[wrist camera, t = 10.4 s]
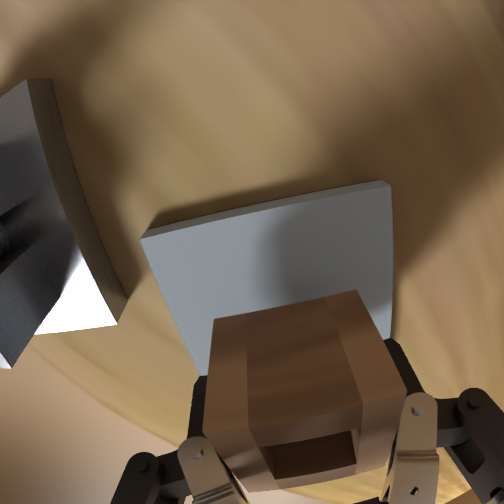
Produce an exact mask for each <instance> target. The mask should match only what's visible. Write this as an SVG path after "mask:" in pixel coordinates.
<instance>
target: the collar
mask: <svg viewBox="0 0 504 504" xmlns="http://www.w3.org/2000/svg"><path fill="white" fill-rule="evenodd" d="M406 395H407V389H406V387H405V385H404V383H403V380H402V378H401V376H400V374H399V372H398V370H397V368H396V366H395V364H394V362H393V359H392V357H391V355H390V353H389V351H388V349H387V347H386V345H385V343H384V341H383V339H382V337H381V335H380V333H379V331H378V329H377V327H376V326H375V324H374V322H373V320H372V318H371V316H370V314H369V312H368V310H367V308H366V306H365V305H364V303H363V301H362V299H361V297H360V295H359V293H358V292H357V290H352V291H348V292H343V293H339V294H335V295H330V296H326V297H321V298H317V299H312V300H308V301H303V302H299V303H294V304H289V305H284V306H279V307H274V308H269V309H264V310H259V311H254V312H249V313H244V314H238V315H233V316H227V317H222V318H216V319H214V321H213V329H212V338H211V348H210V357H209V367H208V376H207V386H206V397H205V407H204V418H203V430H202V432H203V433H204V435H205V436H206V438H207V439H208V440H209V442H210V443H211V445H212V446H213V447H214V449H215V450H216V451H217V453H218V454H219V455H220V457H221V458H222V459H223V461H224V462H225V463H226V465H227V466H228V467H229V469H230V470H231V471H232V472H233V474H234V475H235V476H236V477H237V479H238V480H239V481H240V482H241V484H242V485H243V486H244V487H245V488H246V490H247V491H248V492H260V491H269V490H278V489H285V488H292V487H299V486H305V485H310V484H316V483H321V482H326V481H330V480H335V479H339V478H344V477H348V476H352V475H356V474H359V473H363V472H367V471H370V470H374V469H377V468H380V467H384V466H385V465H386V462H387V459H388V457H389V454H390V451H391V448H392V444H393V441H394V438H395V435H396V432H397V428H398V425H399V421H400V418H401V414H402V410H403V407H404V403H405V399H406Z"/></svg>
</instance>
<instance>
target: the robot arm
mask: <svg viewBox="0 0 504 504" xmlns="http://www.w3.org/2000/svg"><path fill="white" fill-rule="evenodd" d="M383 341H384V343H385V345H386V347H387V349H388V351H389V353H390V355H391V357H392V359H393V362H394V364H395V366H396V368H397V370H398V372H399V374H400V376H401V378H402V380H403V383H404V385H405V387H406V389H407V395H406V399H405V403H404V407H403V410H402V414H401V418H400V421H399V425H398V428H397V432H396V435H395V438H394V441H393V444H392V448H391V451H390V457H389V463H388V469H387V474H386V479H385V483H384V487H383V490H382V494H381V499H380V501H379V497H376V498H372V499H369V500H365V501H362V502H358V503H354V504H435V499H436V492H437V483H438V473H439V455H438V454H437V453H436V448H437V447H444V449H445V450H446V451H447V453H448V454H449V456H450V457H451V459H452V460H453V461H454V463H455V464H456V466H457V467H458V469H459V470H460V472H461V473H462V474H463V476H464V477H465V479H466V480H467V482H468V483H469V485H470V486H471V488H472V489H473V491H474V492H475V494H476V495H477V497H478V498H479V500H480V501H481V503H482V504H504V412H503V411H502V410H501V409H500V408H499V407H498V406H497V404H496V403H495V402H494V401H493V400H492V399H491V398H490V397H489V395H488V394H487V393H486V392H485V391H483V390H481V389H479V388H469V389H466V390H465V391H463V392H462V393H461V394H460V396H459V398H450V399H436V398H433V397H432V396H431V395H429V394H427V393H426V392H425V391H424V390H423V388H422V386H421V384H420V382H419V380H418V378H417V376H416V374H415V372H414V370H413V369H412V367H411V365H410V363H409V361H408V359H407V357H406V356H405V353H404V351H403V350H402V348H401V346H400V344H398V343H397V342H396V341H395V340H393V339H392V338H388V339H384V340H383ZM207 376H208V375H204V376H200V377H199V378H198V380H197V381H196V383H195V385H194V389H193V398H192V406H191V412H190V420H189V428H188V435H187V439H186V440H185V441H184V442H182V444H181V445H180V446H179V448H178V449H177V450H176V451H174V452H171V453H168V454H165V455H161V456H158V457H155V456H154V455H153V454H151V453H148V452H140V453H137V454H135V455H134V456H132V457H131V458H130V459H129V461H128V463H127V465H126V467H125V470H124V472H123V474H122V477H121V479H120V482H119V484H118V486H117V489H116V491H115V494H114V496H113V498H112V501H111V503H110V504H184V501H185V498H186V496H189V495H192V496H193V501H192V504H250V503H249V501H248V499H247V498H246V496H245V494H244V492H243V490H242V488H241V486H240V485H239V483H238V481H237V479H236V477H235V475H234V474H233V472H232V471H231V470H230V469H229V467H228V466H227V465H226V463H225V462H224V461H223V459H222V458H221V457H220V455H219V454H218V453H217V451H216V450H215V449H214V447H213V446H212V445H211V443H210V442H209V440H208V439H207V438H206V436H205V435H204V433H203V432H202V430H203V418H204V407H205V397H206V386H207Z"/></svg>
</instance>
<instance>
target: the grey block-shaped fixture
mask: <svg viewBox="0 0 504 504" xmlns="http://www.w3.org/2000/svg"><path fill="white" fill-rule="evenodd" d="M127 302H128V299H127V297H126V295H125V293H124V291H123V289H122V287H121V285H120V283H119V280H118V278H117V276H116V274H115V272H114V269H113V267H112V265H111V263H110V260H109V258H108V256H107V253H106V251H105V249H104V246H103V244H102V242H101V239H100V237H99V234H98V232H97V229H96V227H95V224H94V222H93V219H92V216H91V214H90V211H89V208H88V206H87V203H86V200H85V198H84V195H83V192H82V189H81V186H80V183H79V180H78V177H77V174H76V171H75V168H74V165H73V162H72V159H71V155H70V152H69V149H68V145H67V142H66V138H65V135H64V131H63V127H62V124H61V120H60V116H59V112H58V108H57V104H56V99H55V95H54V90H53V86H52V81H51V79H25V80H24V81H22V82H21V83H20V84H18V85H17V86H15V87H14V88H12V89H11V90H10V91H8V92H7V93H5V94H4V95H3V96H1V97H0V368H12V367H13V366H14V364H15V363H16V361H17V359H18V357H19V356H20V355H21V353H22V352H23V350H24V348H25V347H26V346H27V344H28V343H29V341H30V340H31V338H32V337H33V335H34V334H43V333H52V332H61V331H69V330H77V329H85V328H93V327H100V326H107V325H115V324H117V322H118V320H119V318H120V316H121V314H122V312H123V310H124V308H125V306H126V304H127Z"/></svg>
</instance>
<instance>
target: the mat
mask: <svg viewBox="0 0 504 504" xmlns="http://www.w3.org/2000/svg"><path fill="white" fill-rule="evenodd" d="M140 242H141V244H142V247H143V249H144V252H145V254H146V257H147V259H148V262H149V264H150V267H151V269H152V272H153V274H154V277H155V279H156V281H157V284H158V286H159V288H160V291H161V293H162V295H163V298H164V300H165V302H166V305H167V307H168V309H169V311H170V314H171V316H172V318H173V320H174V322H175V325H176V327H177V329H178V331H179V333H180V335H181V337H182V339H183V342H184V344H185V346H186V348H187V350H188V352H189V354H190V356H191V358H192V360H193V362H194V364H195V366H196V368H197V370H198V372H199V374H200V376H204V375H208V367H209V357H210V348H211V338H212V329H213V321H214V319H216V318H222V317H227V316H233V315H238V314H244V313H249V312H254V311H259V310H264V309H269V308H274V307H279V306H284V305H289V304H294V303H299V302H303V301H308V300H312V299H317V298H321V297H326V296H330V295H335V294H339V293H343V292H348V291H352V290H357V292H358V293H359V295H360V297H361V299H362V301H363V303H364V305H365V306H366V308H367V310H368V312H369V314H370V316H371V318H372V320H373V322H374V324H375V326H376V327H377V329H378V331H379V333H380V335H381V337H382V339H383V340H384V339H388V338H390V330H391V316H392V297H393V212H392V193H391V185H389V184H388V183H386V182H384V181H383V180H378V181H372V182H366V183H361V184H355V185H349V186H344V187H339V188H333V189H328V190H323V191H318V192H313V193H307V194H302V195H297V196H293V197H288V198H283V199H278V200H273V201H269V202H264V203H259V204H255V205H250V206H245V207H241V208H237V209H232V210H228V211H223V212H219V213H215V214H210V215H206V216H202V217H198V218H194V219H189V220H185V221H181V222H177V223H173V224H169V225H165V226H161V227H157V228H153V229H149V230H146V231H145V232H144V234H143V235H142V237H141V238H140Z"/></svg>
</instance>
